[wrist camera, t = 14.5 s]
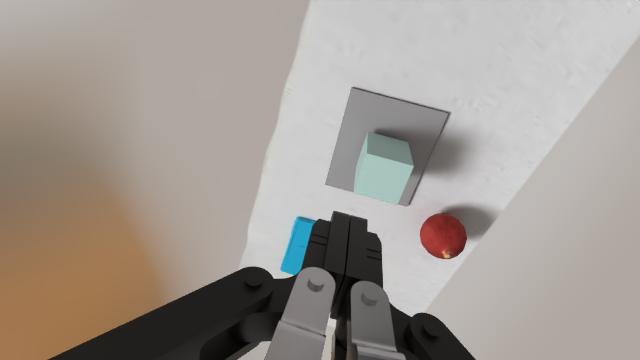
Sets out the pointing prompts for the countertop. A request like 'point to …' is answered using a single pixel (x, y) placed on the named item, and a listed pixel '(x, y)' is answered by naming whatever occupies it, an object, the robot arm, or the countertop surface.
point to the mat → (388, 121)
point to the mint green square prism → (383, 168)
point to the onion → (443, 236)
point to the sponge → (297, 245)
